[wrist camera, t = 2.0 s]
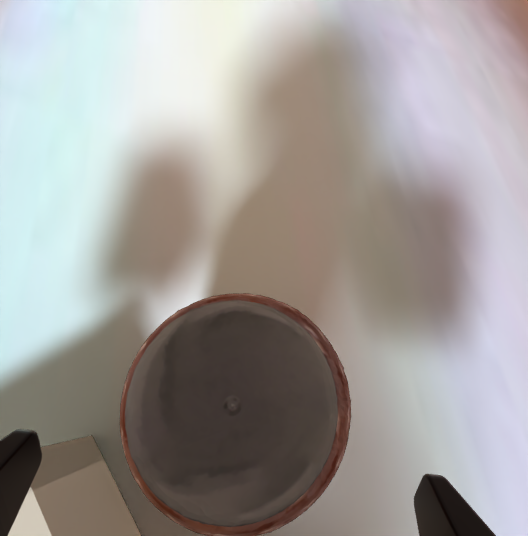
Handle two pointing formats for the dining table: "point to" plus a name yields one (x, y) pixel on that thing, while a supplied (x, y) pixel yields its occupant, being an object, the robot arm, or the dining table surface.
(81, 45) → the dining table surface
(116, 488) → the frame
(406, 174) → the dining table surface
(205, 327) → the supplement bottle
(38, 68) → the dining table surface
